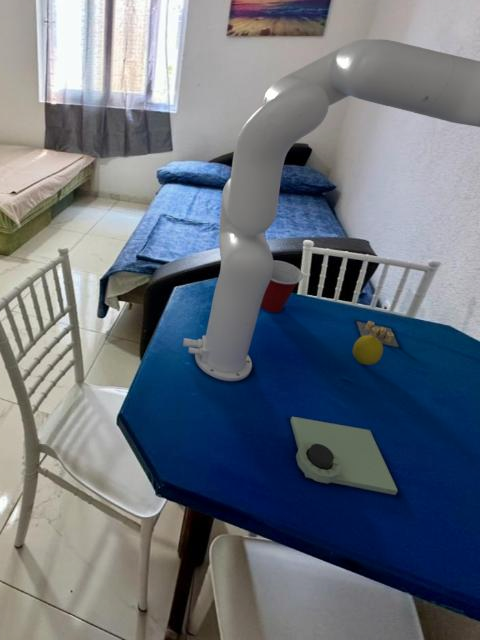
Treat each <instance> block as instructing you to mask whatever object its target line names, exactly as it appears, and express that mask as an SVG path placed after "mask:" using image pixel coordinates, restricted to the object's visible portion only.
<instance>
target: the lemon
mask: <svg viewBox="0 0 480 640" xmlns="http://www.w3.org/2000/svg"><path fill="white" fill-rule="evenodd" d="M383 345H384V344H382V343H381V341H380V340H379V339H377V338H376V337H375V336H370V335H366V336H362V337H361V336H360V337H359V338H358V339H357V340H356V341H355V342H354V344H353V347H352V355H353V357H354V359H355V360H356V361H357V362H358V363H359V364H361V365H366V366H371V365H374V364H376V363H378V362H379V361H380V360H381V358H382V356H383V353H384V346H383Z"/></svg>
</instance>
